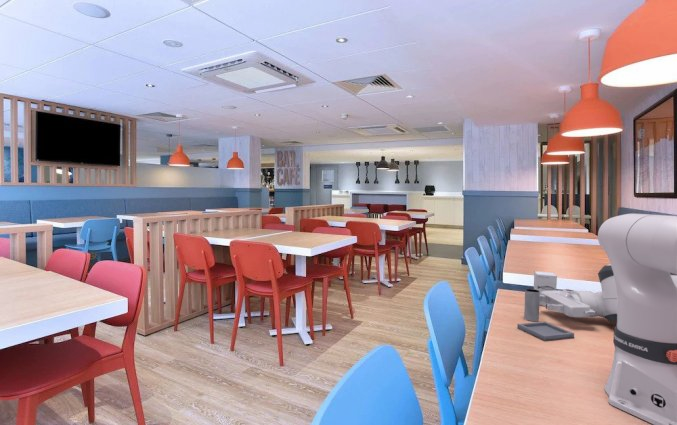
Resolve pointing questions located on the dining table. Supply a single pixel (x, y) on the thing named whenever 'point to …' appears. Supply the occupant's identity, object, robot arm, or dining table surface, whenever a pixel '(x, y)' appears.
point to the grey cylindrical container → (531, 305)
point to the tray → (545, 331)
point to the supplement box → (544, 282)
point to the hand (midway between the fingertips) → (539, 302)
